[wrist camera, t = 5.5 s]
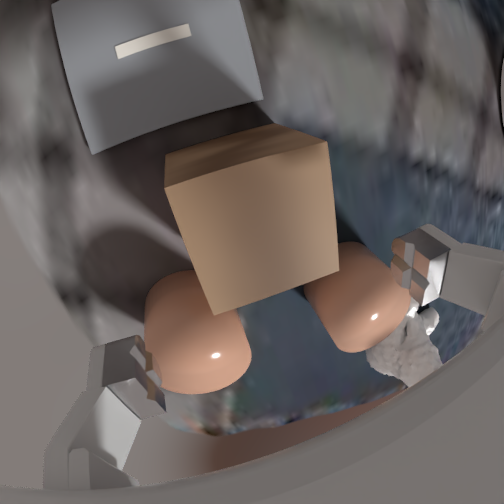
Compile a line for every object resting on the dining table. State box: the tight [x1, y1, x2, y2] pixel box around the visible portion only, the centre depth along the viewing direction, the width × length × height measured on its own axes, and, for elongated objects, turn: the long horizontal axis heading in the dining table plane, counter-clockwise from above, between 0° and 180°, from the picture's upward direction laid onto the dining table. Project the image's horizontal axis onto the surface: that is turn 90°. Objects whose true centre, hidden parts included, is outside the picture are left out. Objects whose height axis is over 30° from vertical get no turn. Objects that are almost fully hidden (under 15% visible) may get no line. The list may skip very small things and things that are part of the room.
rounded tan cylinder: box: [304, 241, 411, 352], centre depth 20 cm, size 6×6×5 cm
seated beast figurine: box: [365, 297, 442, 387], centre depth 23 cm, size 10×9×12 cm
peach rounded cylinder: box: [144, 270, 251, 394], centre depth 18 cm, size 6×6×5 cm
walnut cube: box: [164, 123, 339, 315], centre depth 14 cm, size 6×6×6 cm
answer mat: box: [51, 0, 263, 155], centre depth 11 cm, size 9×9×1 cm
